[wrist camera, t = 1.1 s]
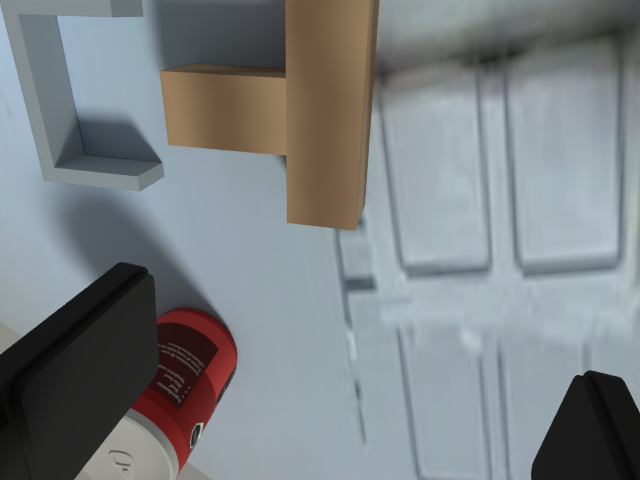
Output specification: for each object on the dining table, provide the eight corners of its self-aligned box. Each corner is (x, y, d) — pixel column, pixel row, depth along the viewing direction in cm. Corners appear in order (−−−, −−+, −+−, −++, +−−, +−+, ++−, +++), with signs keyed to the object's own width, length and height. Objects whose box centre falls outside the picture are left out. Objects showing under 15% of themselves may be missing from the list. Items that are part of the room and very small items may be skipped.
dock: (140, -3, 28) (109, -4, 25) (163, 176, 32) (139, 191, 30) (37, -6, 29) (-3, -7, 26) (75, 167, 34) (44, 181, 31)
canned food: (182, 388, 41) (104, 503, 32) (137, 314, 39) (37, 415, 29) (256, 376, 39) (196, 497, 29) (214, 296, 36) (132, 400, 26)
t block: (380, -7, 25) (370, -10, 21) (364, 204, 30) (355, 230, 27) (187, -12, 27) (149, -15, 23) (205, 187, 32) (176, 209, 29)
